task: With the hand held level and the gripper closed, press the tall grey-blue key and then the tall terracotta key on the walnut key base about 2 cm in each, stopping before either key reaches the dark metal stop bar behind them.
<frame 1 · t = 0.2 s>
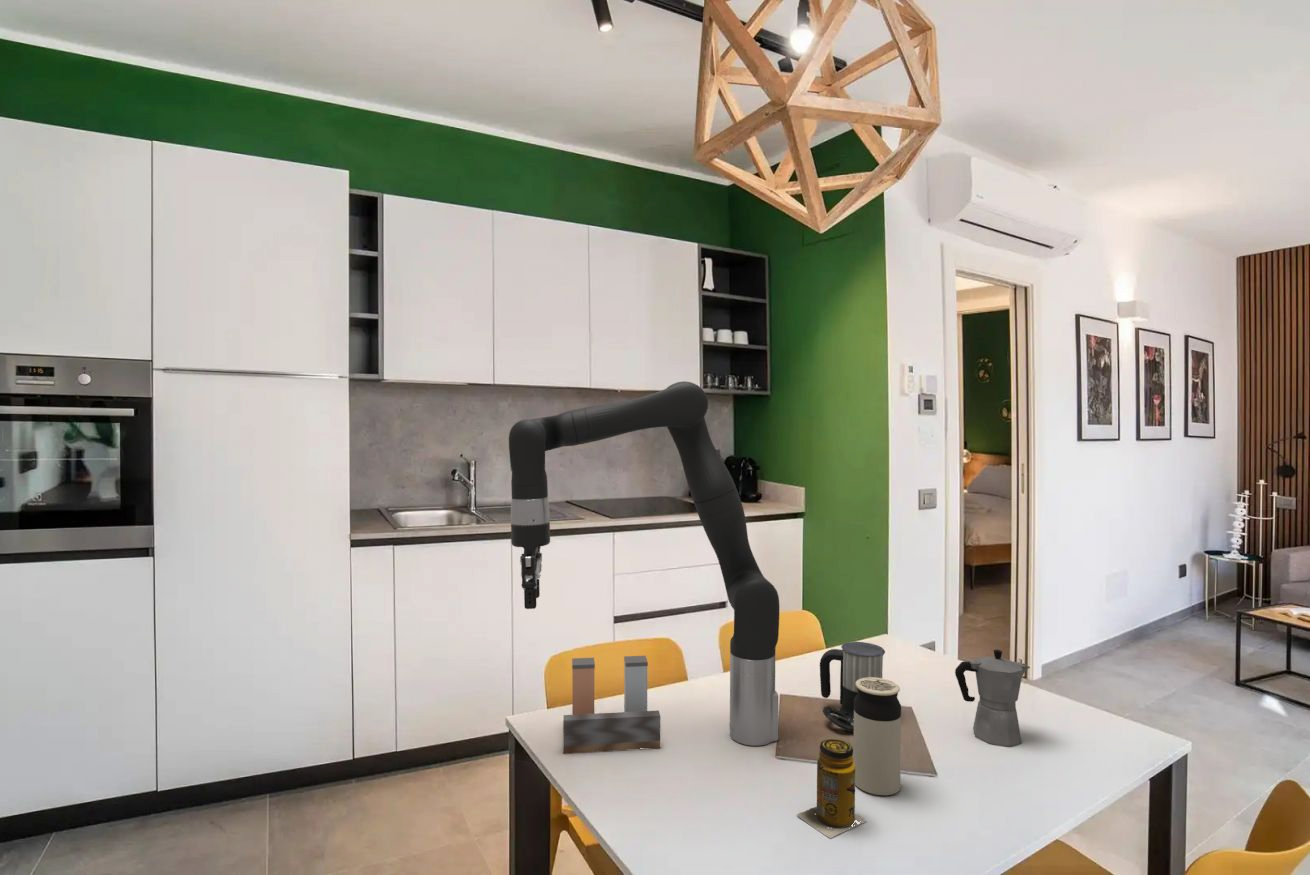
hand: (532, 602, 133), 29 cm above the table, tool pointing down, fingers open, 8 cm apart
travel mug: (876, 786, 120), on the table
condiment: (831, 820, 110), on the table
key base: (610, 734, 140), on the table
coffeepot: (991, 737, 139), on the table
terracotta key: (583, 691, 141), point 8 cm above the table, slide at 0.0 cm
bluegrey key: (635, 689, 143), point 8 cm above the table, slide at 0.0 cm
milk frother: (853, 720, 147), on the table
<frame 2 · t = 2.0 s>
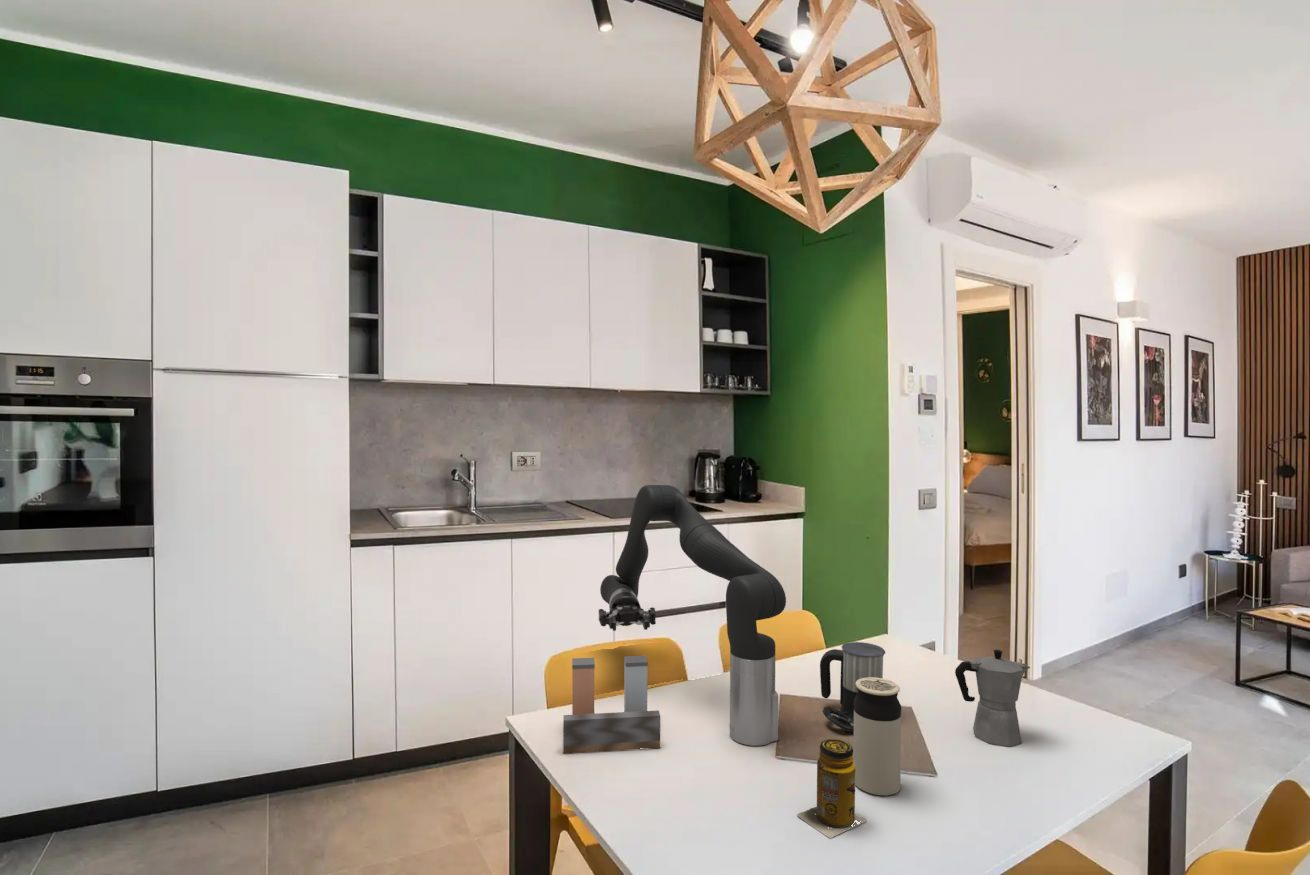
hand: (630, 625, 154), 18 cm above the table, tool horizontal, fingers open, 6 cm apart
nothing on the table moved.
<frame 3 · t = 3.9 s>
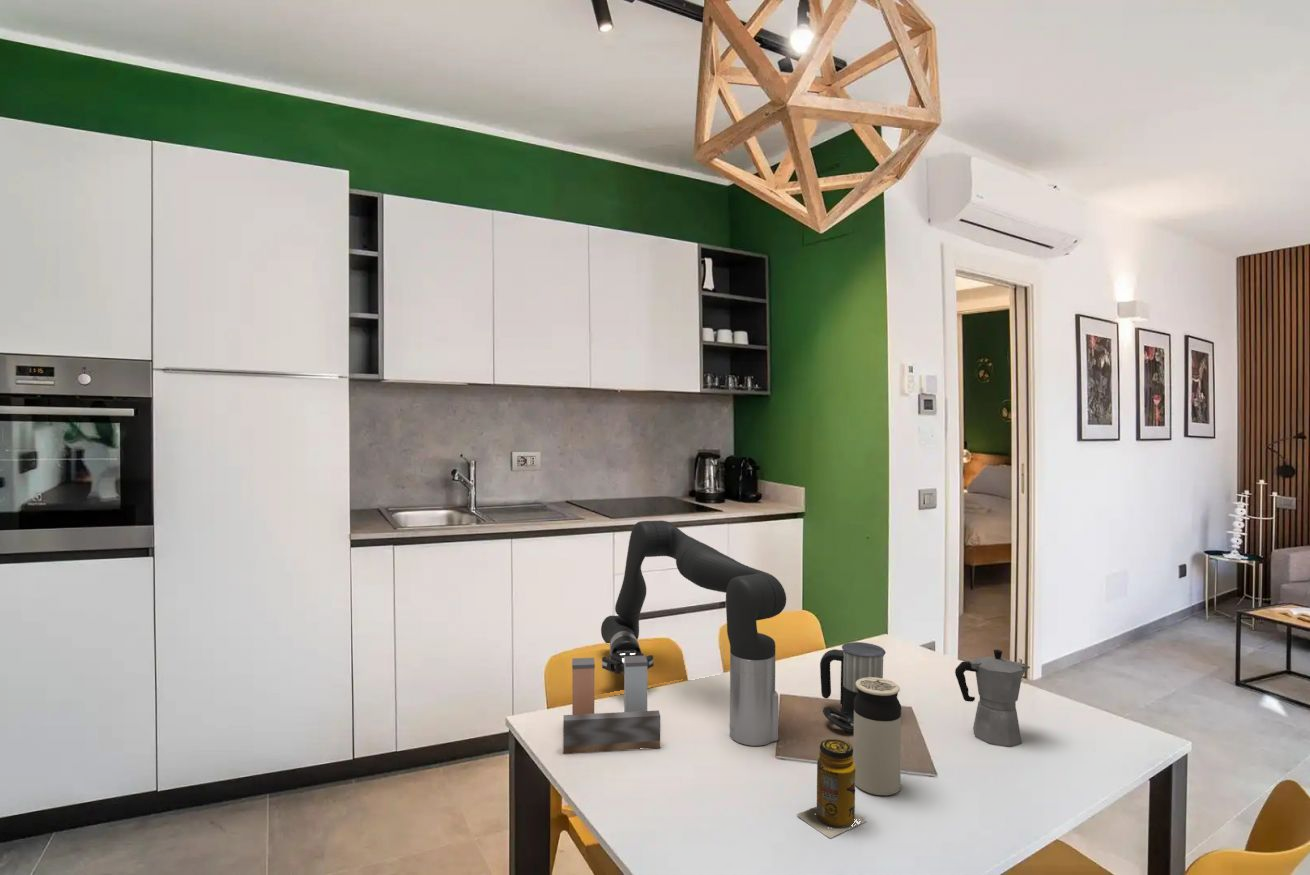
hand: (631, 675, 154), 7 cm above the table, tool horizontal, fingers closed
nothing on the table moved.
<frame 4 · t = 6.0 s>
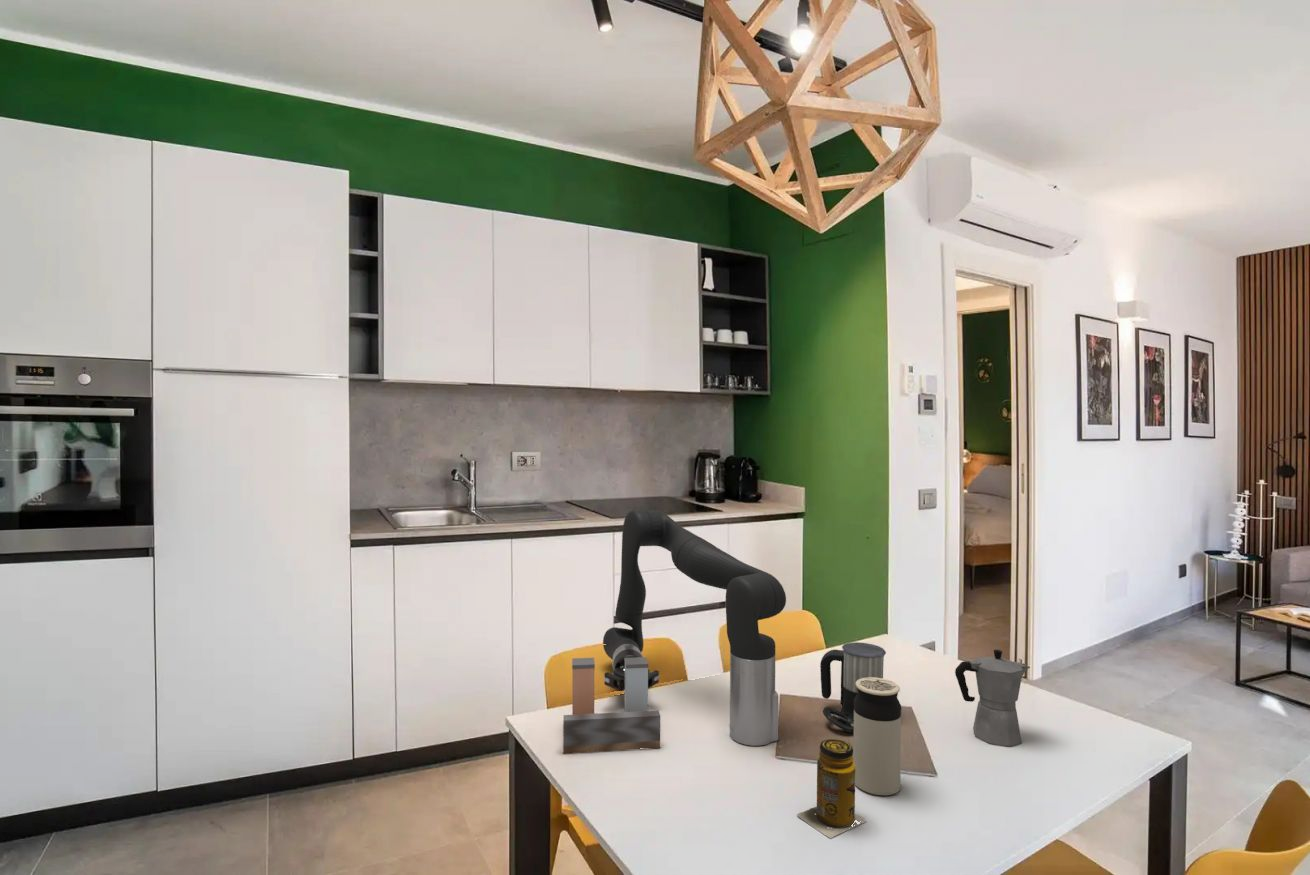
hand: (635, 693, 144), 7 cm above the table, tool horizontal, fingers closed
bluegrey key: (636, 691, 142), point 8 cm above the table, slide at 0.9 cm, touching gripper
everything else where it was.
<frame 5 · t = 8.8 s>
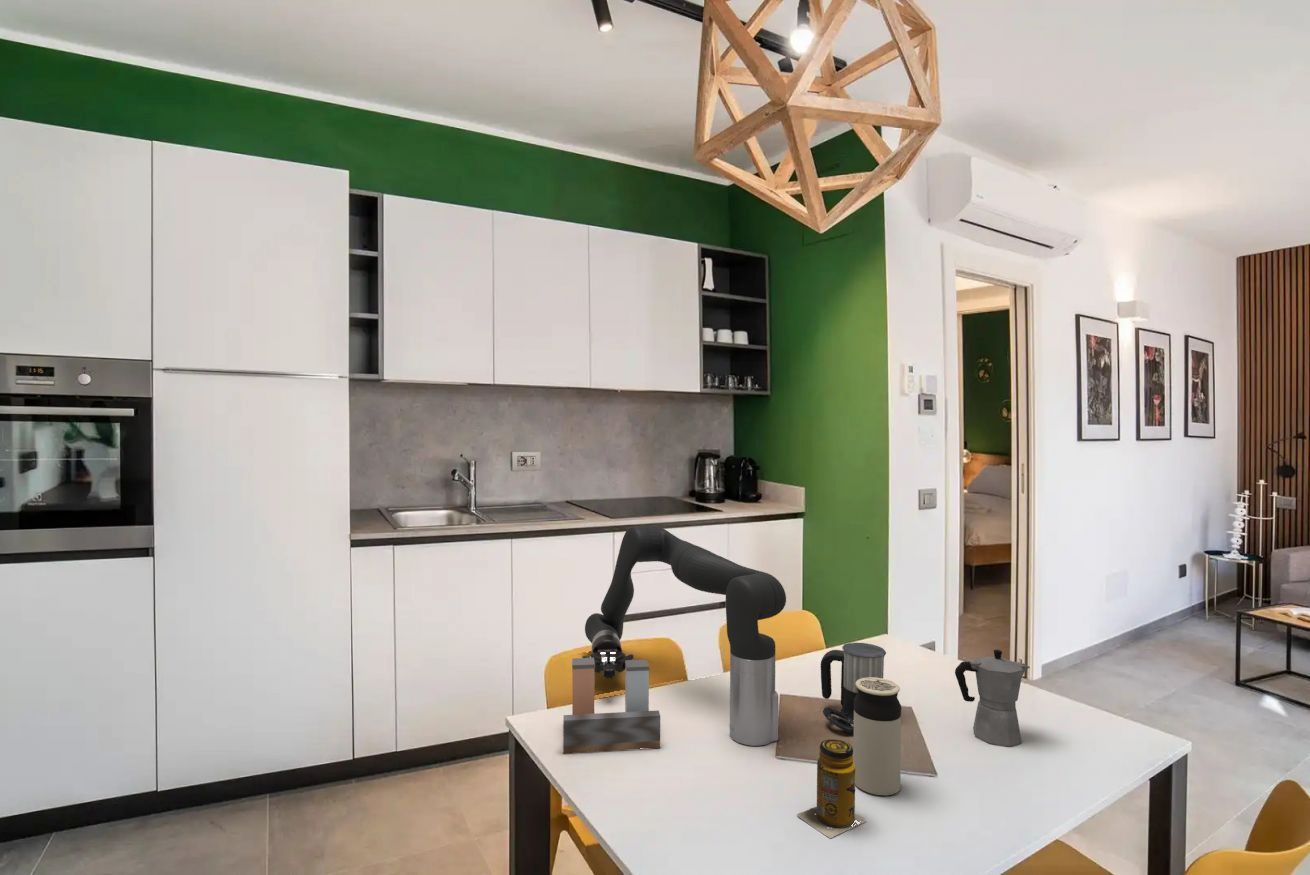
hand: (609, 674, 154), 7 cm above the table, tool horizontal, fingers closed
bluegrey key: (636, 694, 140), point 8 cm above the table, slide at 2.5 cm
everything else where it was.
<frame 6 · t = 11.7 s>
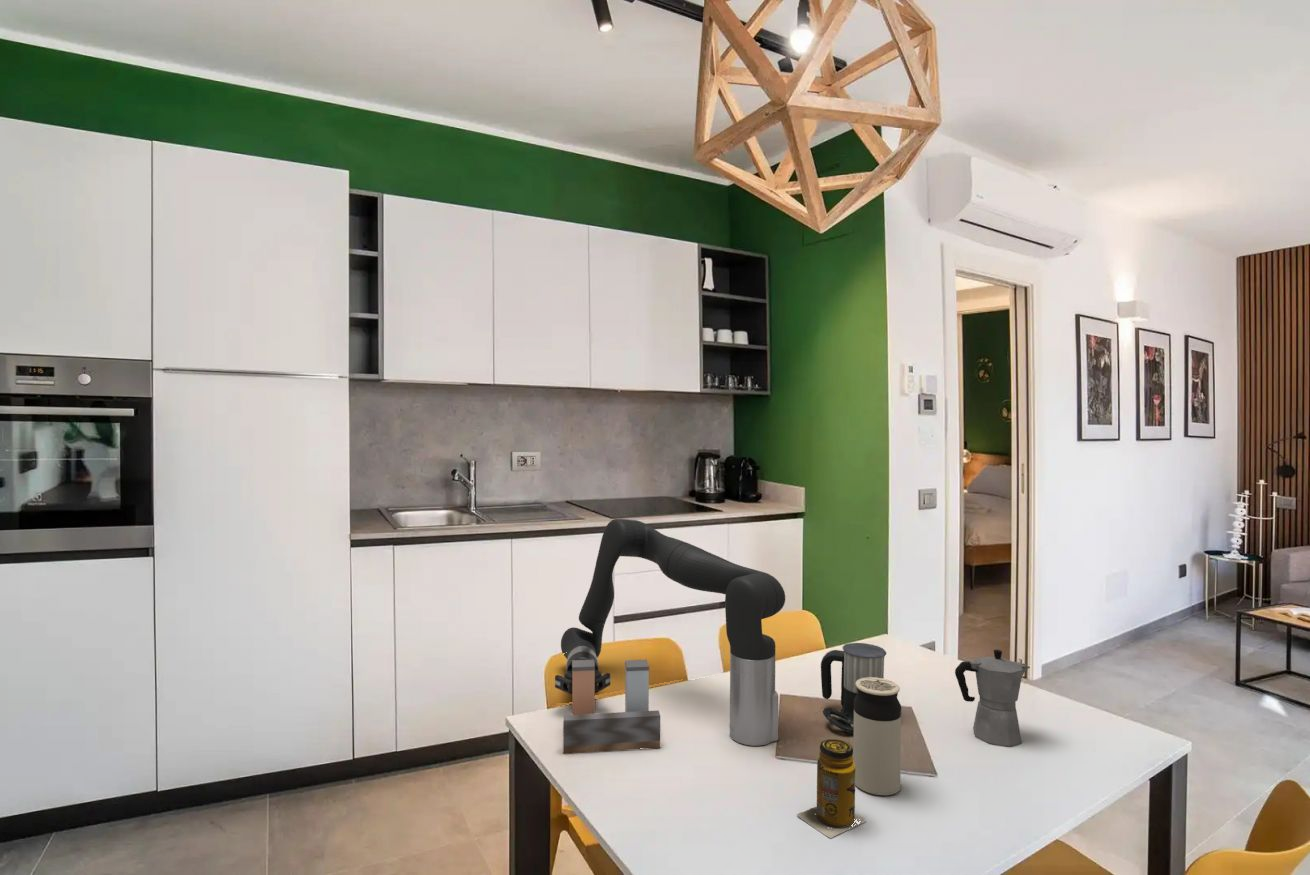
hand: (583, 696, 142), 7 cm above the table, tool horizontal, fingers closed
terracotta key: (583, 694, 140), point 8 cm above the table, slide at 1.2 cm, touching gripper
everything else where it was.
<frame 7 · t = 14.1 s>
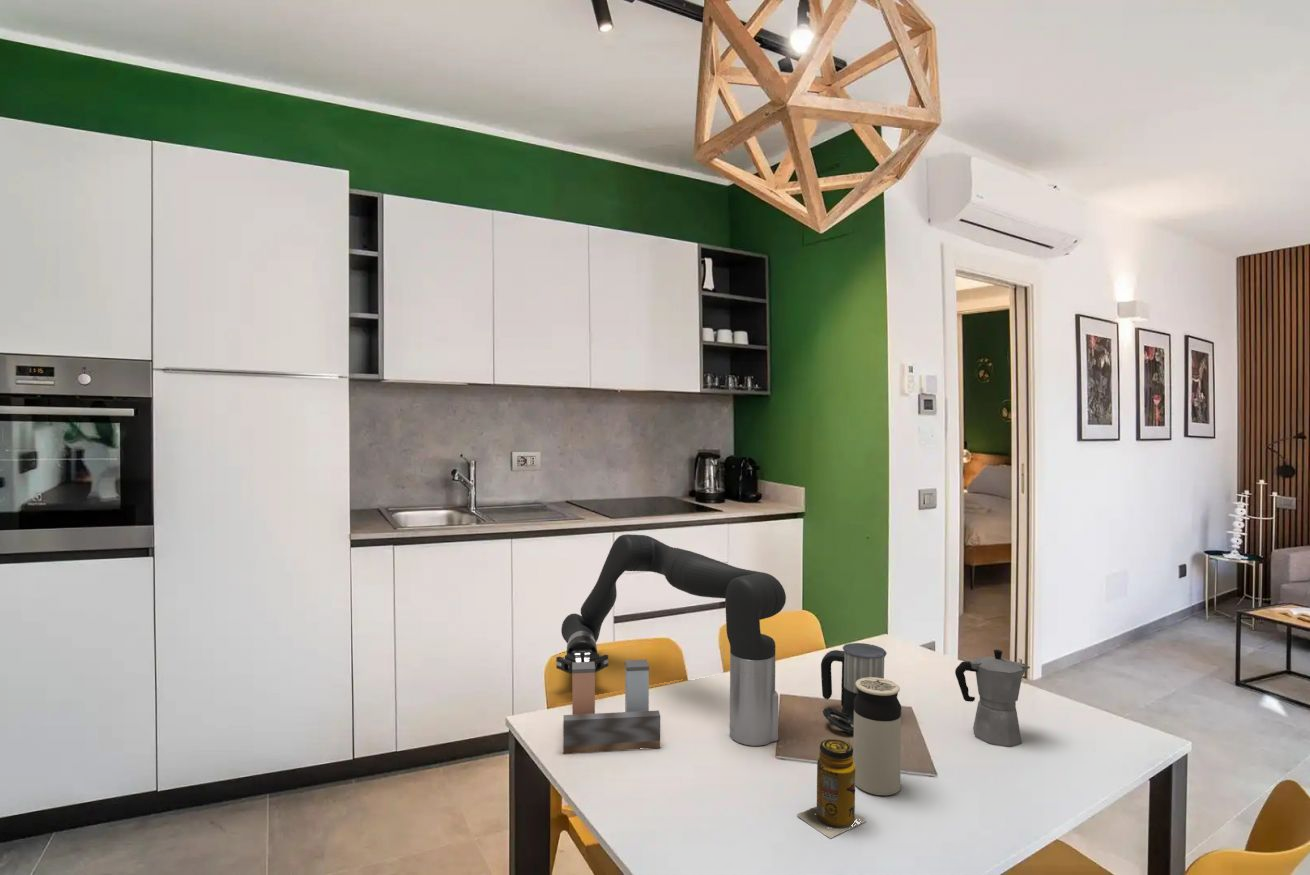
hand: (583, 675, 153), 7 cm above the table, tool horizontal, fingers closed
terracotta key: (583, 696, 139), point 8 cm above the table, slide at 2.4 cm
everything else where it was.
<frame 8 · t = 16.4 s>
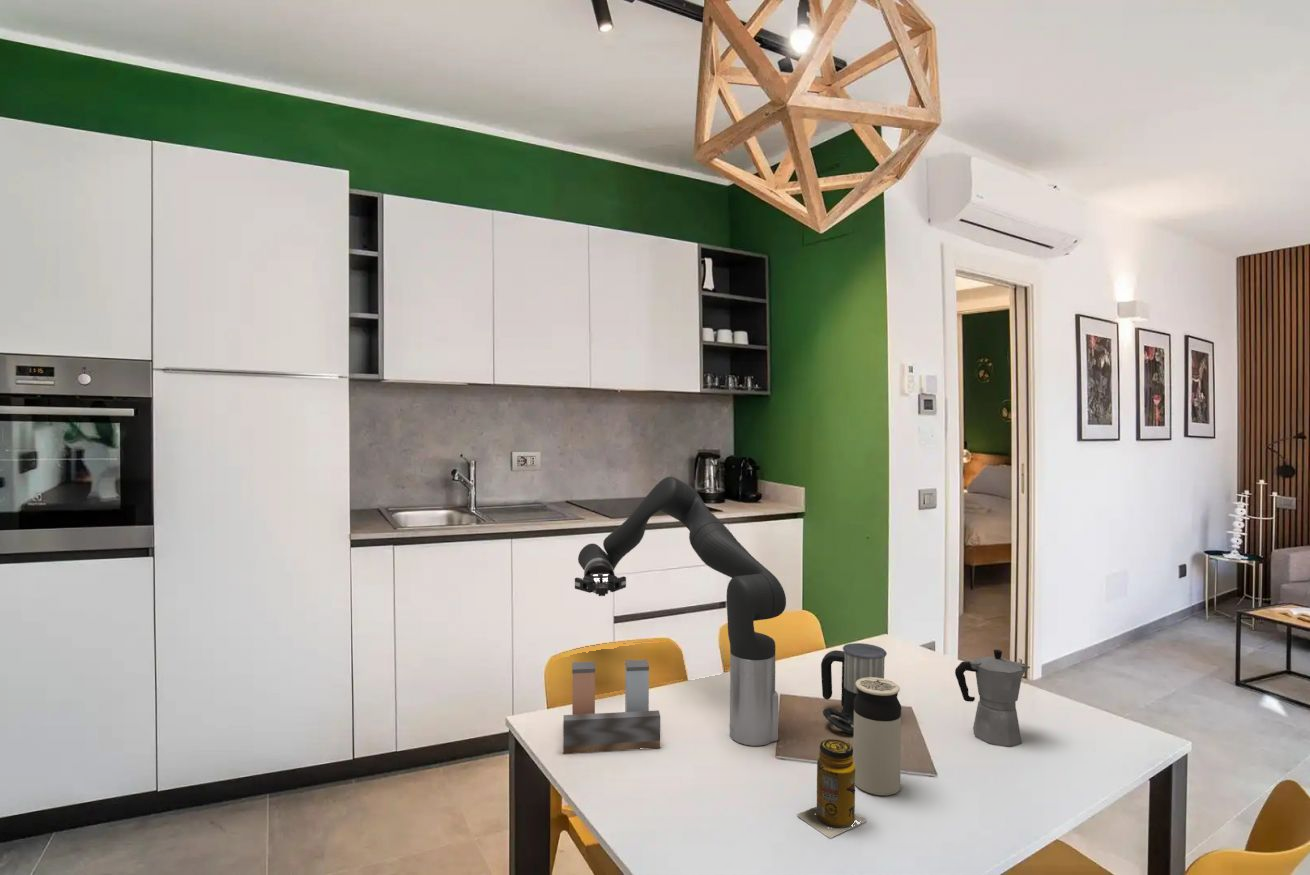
hand: (602, 591, 154), 26 cm above the table, tool horizontal, fingers closed
nothing on the table moved.
at the end: bluegrey key slide at 2.5 cm; terracotta key slide at 2.4 cm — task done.
